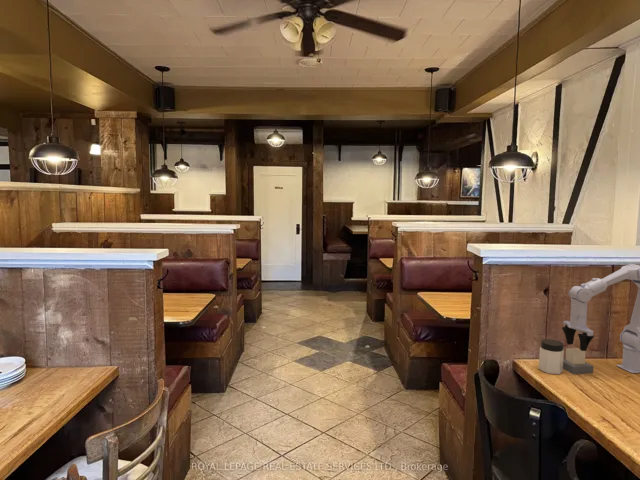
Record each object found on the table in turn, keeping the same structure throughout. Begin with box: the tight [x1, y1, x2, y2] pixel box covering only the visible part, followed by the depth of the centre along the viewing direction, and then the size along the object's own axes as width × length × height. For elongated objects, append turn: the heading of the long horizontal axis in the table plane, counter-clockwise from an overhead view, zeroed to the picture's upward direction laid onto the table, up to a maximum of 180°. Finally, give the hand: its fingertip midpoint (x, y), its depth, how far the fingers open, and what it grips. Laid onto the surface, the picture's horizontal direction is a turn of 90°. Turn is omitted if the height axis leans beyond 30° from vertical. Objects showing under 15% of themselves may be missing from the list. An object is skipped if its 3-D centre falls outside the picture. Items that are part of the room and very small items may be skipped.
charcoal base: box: [563, 358, 594, 375], centre depth 174 cm, size 9×9×4 cm
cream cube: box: [565, 347, 586, 364], centre depth 174 cm, size 5×5×5 cm
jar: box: [538, 338, 565, 375], centre depth 173 cm, size 9×8×12 cm
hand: (576, 347), depth 174 cm, fingers open, 7 cm apart
